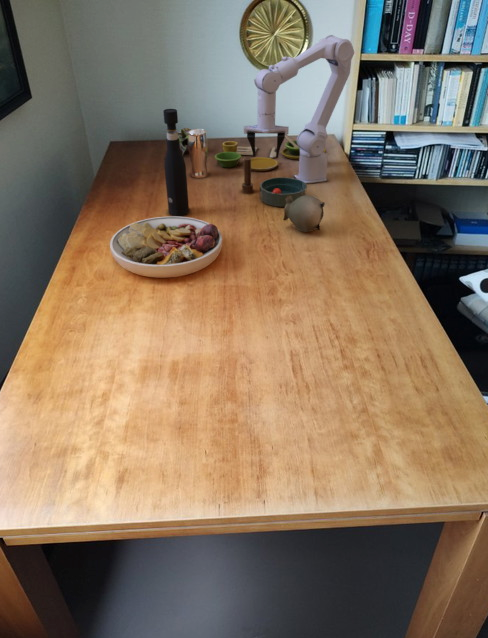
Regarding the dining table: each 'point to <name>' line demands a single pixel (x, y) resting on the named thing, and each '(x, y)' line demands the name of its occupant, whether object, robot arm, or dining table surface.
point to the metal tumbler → (198, 152)
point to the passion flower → (183, 139)
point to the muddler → (247, 177)
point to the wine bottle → (175, 168)
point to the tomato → (277, 191)
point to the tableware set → (258, 164)
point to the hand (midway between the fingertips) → (265, 156)
